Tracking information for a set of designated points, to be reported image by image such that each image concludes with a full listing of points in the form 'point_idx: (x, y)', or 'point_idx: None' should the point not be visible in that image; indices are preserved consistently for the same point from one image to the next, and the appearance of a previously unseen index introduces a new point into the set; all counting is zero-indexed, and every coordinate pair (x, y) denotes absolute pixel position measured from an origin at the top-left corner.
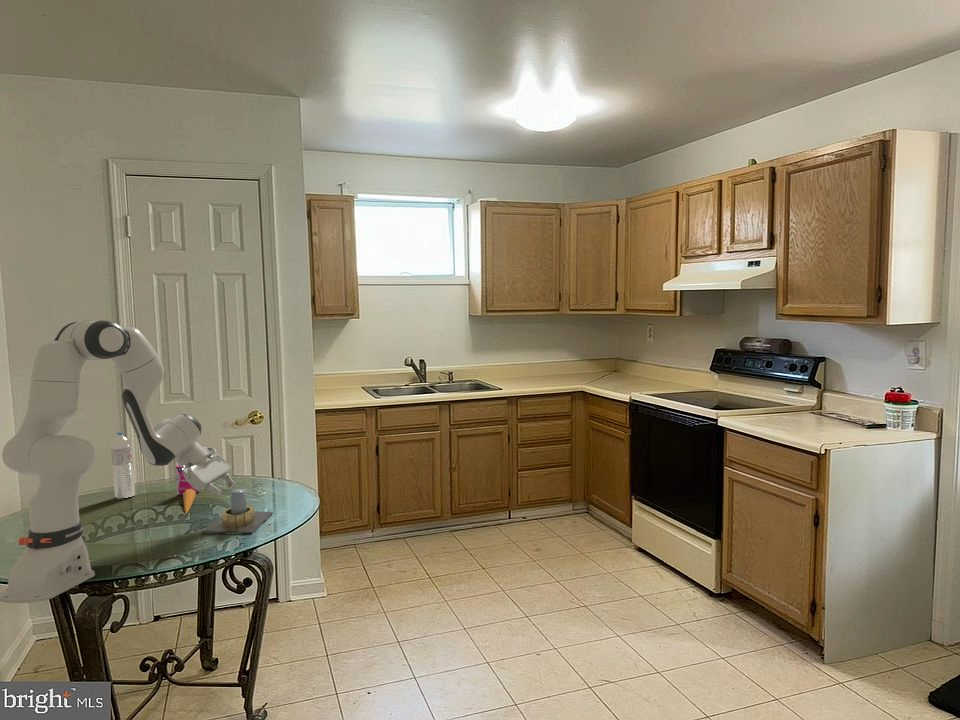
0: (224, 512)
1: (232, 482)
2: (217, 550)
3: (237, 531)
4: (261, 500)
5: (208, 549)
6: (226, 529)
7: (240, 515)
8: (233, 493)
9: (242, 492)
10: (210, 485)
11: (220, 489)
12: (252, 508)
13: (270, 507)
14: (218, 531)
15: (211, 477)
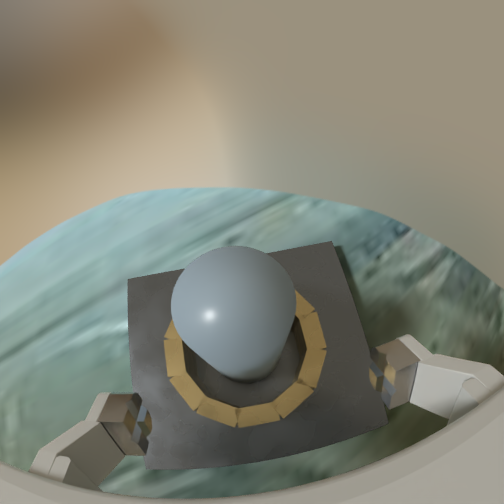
0: (286, 399)
1: (123, 399)
2: (454, 264)
3: (348, 288)
4: (14, 393)
5: (461, 293)
6: (349, 339)
7: (299, 295)
8: (293, 301)
9: (256, 250)
10: (492, 373)
11: (389, 351)
12: None
13: (65, 331)
14: (370, 360)
15: (494, 423)
